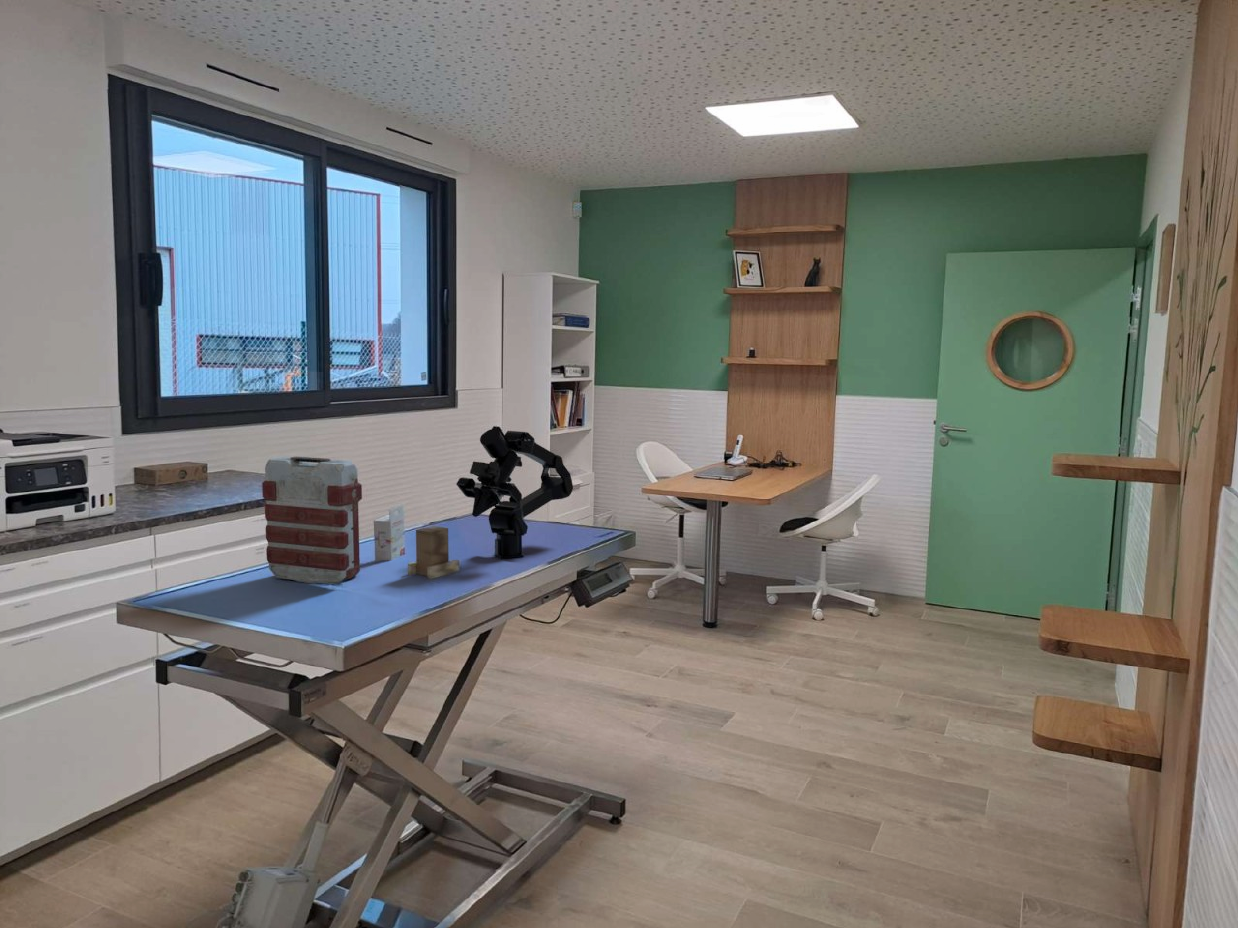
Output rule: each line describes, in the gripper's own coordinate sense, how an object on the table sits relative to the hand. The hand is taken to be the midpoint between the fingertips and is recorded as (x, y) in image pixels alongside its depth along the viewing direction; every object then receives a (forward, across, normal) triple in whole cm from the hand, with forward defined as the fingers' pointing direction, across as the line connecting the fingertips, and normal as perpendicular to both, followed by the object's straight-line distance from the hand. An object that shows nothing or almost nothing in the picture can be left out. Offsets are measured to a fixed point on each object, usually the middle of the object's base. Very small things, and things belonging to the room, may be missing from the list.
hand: (473, 515), depth 234 cm
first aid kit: (+33, -22, -14) cm, 42 cm away
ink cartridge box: (+16, -22, +3) cm, 27 cm away
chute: (+21, 0, -2) cm, 21 cm away
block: (+19, 0, -2) cm, 19 cm away
